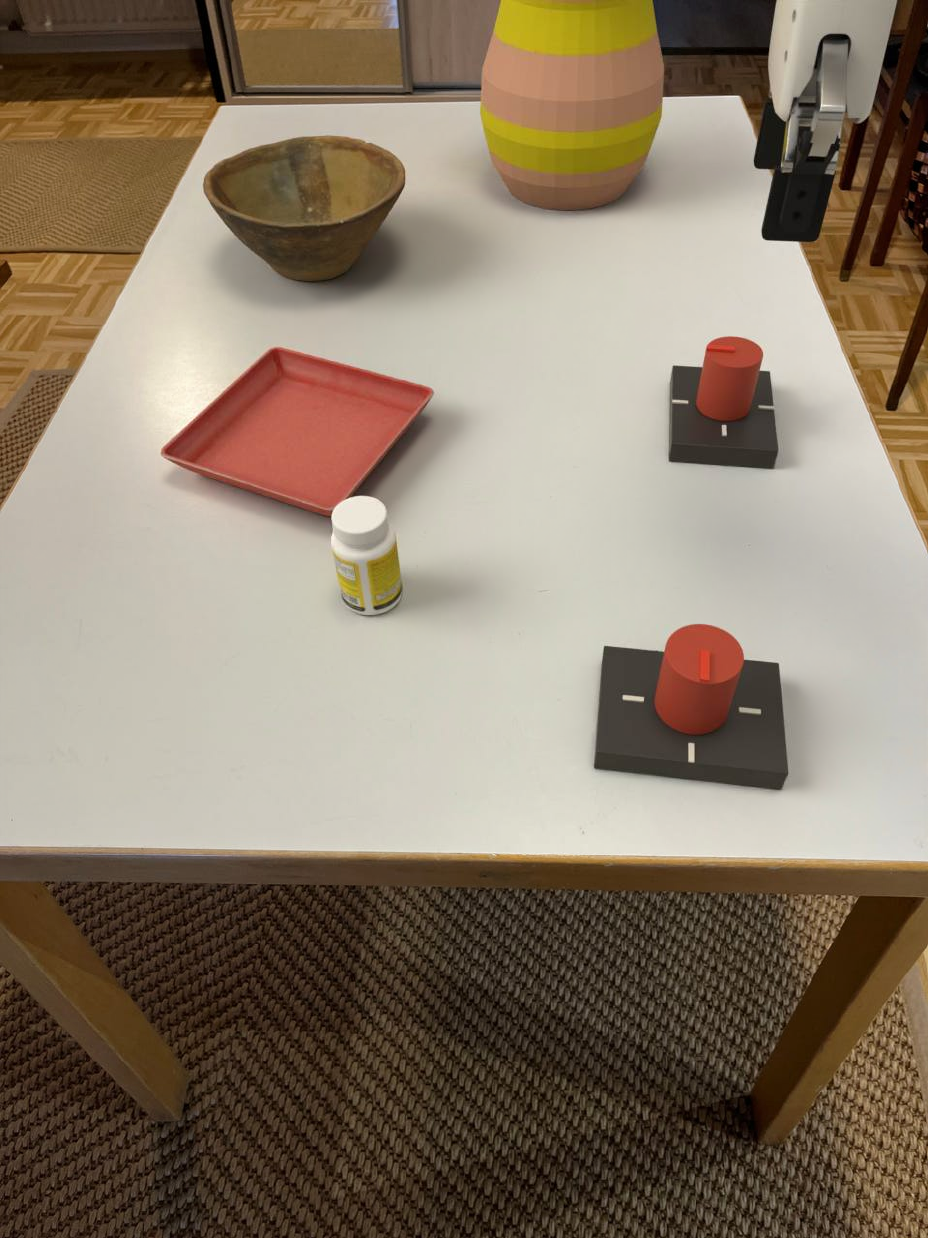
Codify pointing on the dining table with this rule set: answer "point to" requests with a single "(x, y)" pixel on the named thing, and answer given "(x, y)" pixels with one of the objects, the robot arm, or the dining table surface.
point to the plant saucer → (299, 429)
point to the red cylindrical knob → (729, 378)
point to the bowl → (306, 201)
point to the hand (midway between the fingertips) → (782, 201)
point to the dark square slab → (720, 426)
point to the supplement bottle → (366, 556)
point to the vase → (571, 98)
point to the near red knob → (698, 678)
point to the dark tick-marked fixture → (725, 755)
